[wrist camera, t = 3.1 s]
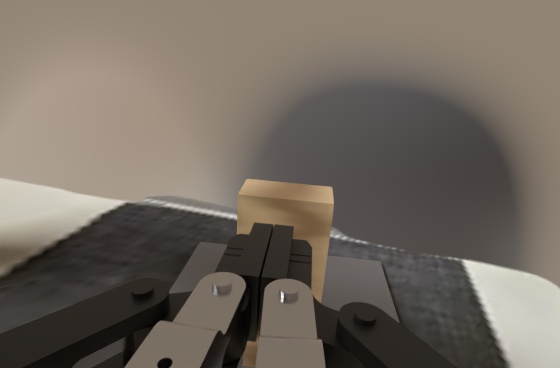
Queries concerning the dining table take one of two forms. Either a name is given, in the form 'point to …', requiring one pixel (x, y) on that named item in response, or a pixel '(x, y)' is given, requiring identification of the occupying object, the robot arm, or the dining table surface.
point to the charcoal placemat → (337, 282)
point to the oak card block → (289, 224)
